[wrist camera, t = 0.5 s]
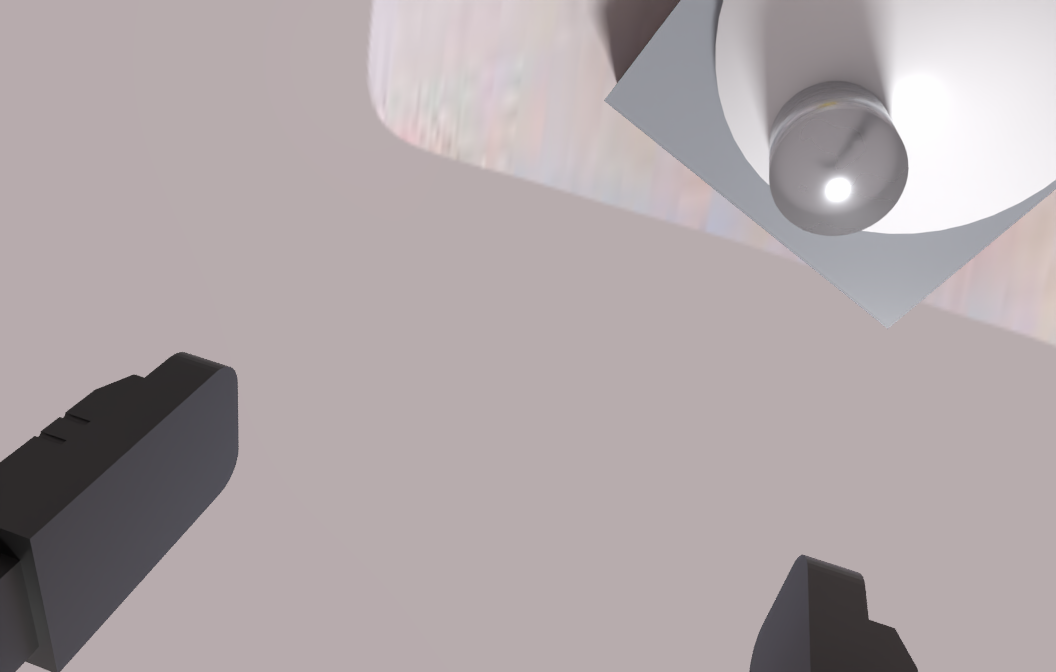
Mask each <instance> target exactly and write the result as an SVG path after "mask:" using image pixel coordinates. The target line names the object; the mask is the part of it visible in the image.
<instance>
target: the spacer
mask: <svg viewBox="0 0 1056 672" xmlns="http://www.w3.org/2000/svg"><path fill="white" fill-rule="evenodd" d="M908 169H909V168H908V156H907V152H906V149H905V146H904V143H903V141H902V139H901V137H900V135H899V134H898V132H897V130H896V128H895V126H894V124H893V122H892V120H891V118H890V116H889V114H888V112H887V110H886V108H885V106H884V105H883V103H882V102H881V101H880V99H879V98H878V97H877V96H876V95H875V94H873V93H872V92H871V91H869V90H868V89H866V88H864V87H862V86H860V85H857V84H854V83H851V82H846V81H827V82H822V83H818V84H815V85H812V86H810V87H807V88H805V89H803V90H802V91H800V92H798V93H797V94H796V95H794V96H793V97H792V98H791V99H789V100H788V101H787V102H786V103H785V105H784V106H783V107H782V108H781V110H780V111H779V113H778V114H777V116H776V118H775V120H774V122H773V125H772V128H771V132H770V138H769V184H770V191H771V194H772V197H773V200H774V202H775V204H776V206H777V208H778V209H779V211H780V212H781V213H782V214H783V216H784V217H785V218H786V219H787V220H789V221H790V222H791V223H792V224H794V225H795V226H797V227H799V228H800V229H802V230H804V231H807V232H810V233H813V234H817V235H824V236H841V235H848V234H852V233H856V232H859V231H861V230H864V229H866V228H868V227H870V226H872V225H873V224H875V223H877V222H878V221H880V220H881V219H882V218H883V217H884V216H886V215H887V214H888V213H889V212H890V211H891V210H892V208H893V207H894V206H895V204H896V203H897V202H898V200H899V198H900V197H901V195H902V193H903V190H904V188H905V185H906V182H907V178H908Z"/></svg>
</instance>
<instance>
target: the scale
mask: <svg viewBox="0 0 1056 672" xmlns="http://www.w3.org/2000/svg"><path fill="white" fill-rule="evenodd" d="M827 81H846V82H851V83H854V84H857V85H860V86H862V87H864V88H866V89H868V90H869V91H871V92H872V93H873V94H875V95H876V96H877V97H878V98H879V99H880V101H881V102H882V103H883V105H884V106H885V108H886V110H887V112H888V114H889V116H890V118H891V120H892V122H893V124H894V126H895V128H896V130H897V132H898V134H899V135H900V137H901V139H902V141H903V143H904V146H905V149H906V152H907V156H908V168H909V169H908V178H907V182H906V185H905V188H904V190H903V193H902V195H901V197H900V198H899V200H898V202H897V203H896V204H895V206H894V207H893V208H892V210H891V211H890V212H889V213H888V214H887V215H886V216H884V217H883V218H882V219H881V220H880V221H878V222H877V223H875V224H873V225H872V226H870V227H868V228H866V229H864V230H861V231H859V232H856V233H852V234H848V235H841V236H824V235H817V234H813V233H810V232H807V231H804V230H802V229H800V228H799V227H797V226H795V225H794V224H792V223H791V222H790V221H789V220H787V219H786V218H785V217H784V216H783V214H782V213H781V212H780V211H779V209H778V208H777V206H776V204H775V202H774V200H773V197H772V194H771V191H770V184H769V138H770V132H771V128H772V125H773V122H774V120H775V118H776V116H777V114H778V113H779V111H780V110H781V108H782V107H783V106H784V105H785V103H786V102H787V101H788V100H789V99H791V98H792V97H793V96H794V95H796V94H797V93H798V92H800V91H802V90H803V89H805V88H807V87H810V86H812V85H815V84H818V83H822V82H827ZM604 101H605V102H607V103H608V104H609V105H610V106H612V107H613V108H614V109H615V110H617V111H618V112H619V113H620V114H621V115H623V116H624V117H625V118H626V119H628V120H629V121H630V122H631V123H633V124H634V125H635V126H636V127H638V128H639V129H640V130H641V131H643V132H644V133H645V134H646V135H648V136H649V137H650V138H651V139H653V140H654V141H655V142H656V143H658V144H659V145H660V146H661V147H662V148H664V149H665V150H666V151H667V152H669V153H670V154H671V155H672V156H674V157H675V158H676V159H677V160H679V161H680V162H681V163H682V164H684V165H685V166H686V167H687V168H689V169H690V170H691V171H692V172H694V173H695V174H696V175H697V176H699V177H700V178H701V179H702V180H704V181H705V182H706V183H707V184H708V185H710V186H711V187H712V188H713V189H715V190H716V191H717V192H718V193H720V194H721V195H722V196H723V197H725V198H726V199H727V200H728V201H730V202H731V203H732V204H733V205H735V206H736V207H737V208H738V209H740V210H741V211H742V212H743V213H745V214H746V215H747V216H748V217H749V218H751V219H752V220H753V221H754V222H756V223H757V224H758V225H759V226H761V227H762V228H763V229H764V230H766V231H767V232H768V233H769V234H771V235H772V236H773V237H774V238H776V239H777V240H778V241H779V242H781V243H782V244H783V245H784V246H786V247H787V248H788V249H789V250H790V251H792V252H793V253H794V254H795V255H797V256H798V257H799V258H800V259H802V260H803V261H804V262H805V263H807V264H808V265H809V266H810V267H812V268H813V269H814V270H815V271H817V272H818V273H819V274H820V275H822V276H823V277H824V278H825V279H827V280H828V281H829V282H830V283H832V284H833V285H834V286H835V287H836V288H838V289H839V290H840V291H842V292H843V293H844V294H845V295H847V296H848V297H849V298H850V299H851V300H853V301H854V302H855V303H856V304H858V305H859V306H860V307H861V308H863V309H864V310H865V311H866V312H868V313H869V314H870V315H872V316H873V317H874V318H875V319H876V320H877V321H879V322H880V323H881V324H882V325H884V326H885V327H886V328H887V329H888V328H889V327H890V326H892V325H893V324H894V323H895V322H896V321H898V320H899V319H900V318H901V317H902V316H904V315H905V314H906V313H907V312H909V311H910V310H911V309H912V308H913V307H915V306H916V305H917V304H918V303H919V302H921V301H922V300H923V299H924V298H925V297H927V296H928V295H929V294H930V293H931V292H933V291H934V290H935V289H936V288H937V287H939V286H940V285H941V284H942V283H943V282H945V281H946V280H947V279H948V278H949V277H951V276H952V275H953V274H954V273H955V272H957V271H958V270H959V269H960V268H961V267H963V266H964V265H965V264H966V263H967V262H969V261H970V260H971V259H972V258H973V257H975V256H976V255H977V254H978V253H979V252H981V251H982V250H983V249H984V248H985V247H987V246H988V245H989V244H990V243H991V242H993V241H994V240H995V239H996V238H997V237H999V236H1000V235H1001V234H1002V233H1004V232H1005V231H1006V230H1007V229H1008V228H1010V227H1011V226H1012V225H1013V224H1014V223H1016V222H1017V221H1018V220H1019V219H1020V218H1022V217H1023V216H1024V215H1025V214H1026V213H1028V212H1029V211H1030V210H1031V209H1032V208H1034V207H1035V206H1036V205H1037V204H1038V203H1040V202H1041V201H1042V200H1043V199H1044V198H1046V197H1047V196H1048V195H1049V194H1050V193H1052V192H1053V191H1054V190H1055V189H1056V0H680V1H679V3H678V4H677V5H676V7H675V8H674V9H673V11H672V12H671V13H670V15H669V16H668V17H667V18H666V20H665V21H664V22H663V24H662V25H661V26H660V28H659V29H658V30H657V32H656V33H655V34H654V36H653V37H652V38H651V40H650V41H649V42H648V43H647V45H646V46H645V47H644V49H643V50H642V51H641V53H640V54H639V55H638V57H637V58H636V59H635V61H634V62H633V63H632V64H631V66H630V67H629V68H628V70H627V71H626V72H625V74H624V75H623V76H622V78H621V79H620V80H619V82H618V83H617V84H616V86H615V87H614V88H613V90H612V91H611V92H610V94H609V95H608V96H607V98H606V99H605V100H604Z"/></svg>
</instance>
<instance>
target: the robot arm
mask: <svg viewBox="0 0 1056 672" xmlns="http://www.w3.org/2000/svg"><path fill="white" fill-rule="evenodd" d="M237 384H238V382H237V375H236V373H235V370H234V369H233V368H231V367H228V366H225V365H222V364H219V363H216V362H213V361H210V360H207V359H204V358H200V357H197V356H194V355H191V354H188V353H185V352H180V353H176V354H174V355H173V356H171V357H170V358H169V359H167V360H166V361H165V362H164V363H162V364H161V365H160V366H159V367H157V368H156V369H155V370H154V371H152V372H151V373H150V374H149V375H148V376H146V377H145V378H143V377H140V376H137V375H131V376H129V377H127V378H124V379H121V380H119V381H117V382H114V383H111V384H109V385H106V386H104V387H101V388H99V389H96V390H94V391H93V392H92V393H90V394H89V395H88V396H87V397H85V398H84V399H83V400H81V401H80V402H79V403H77V404H76V405H75V406H73V407H72V408H71V409H69V410H68V411H67V412H66V414H65V416H64V418H61V417H59V418H58V419H57V420H55V421H54V422H53V423H51V424H50V425H49V426H48V427H46V428H45V429H43V430H42V431H41V434H40V436H39V437H36V436H34V437H33V438H32V439H30V440H29V441H28V442H26V443H25V444H24V445H22V446H21V447H20V448H18V449H17V450H16V451H15V452H13V453H12V454H11V455H9V456H8V457H7V458H6V459H4V460H3V461H2V462H0V672H15V671H16V670H17V669H18V668H19V667H20V666H21V665H22V664H23V663H24V662H25V661H26V662H28V663H31V664H33V665H36V666H39V667H41V668H44V669H46V670H49V671H51V672H60V671H61V670H62V669H63V668H64V667H65V665H66V664H67V663H68V662H69V661H70V660H71V659H72V657H74V655H75V654H76V653H77V652H78V651H79V650H80V649H81V648H82V647H83V645H84V644H85V643H86V642H87V641H88V640H89V639H90V638H91V637H92V635H93V634H94V633H95V632H96V631H97V630H98V629H99V628H100V627H101V625H102V624H103V623H104V622H105V621H106V620H107V619H108V618H109V616H110V615H111V614H112V613H113V612H114V611H115V610H116V609H117V608H118V606H119V605H120V604H121V603H122V602H123V601H124V600H125V599H126V598H127V596H128V595H129V594H130V593H131V592H132V591H133V590H134V589H135V588H136V586H137V585H138V584H139V583H140V582H141V581H142V580H143V579H144V578H145V576H146V575H147V574H148V573H149V572H150V571H151V570H152V568H153V567H154V566H155V565H156V564H157V563H158V562H159V560H161V559H162V557H163V556H164V555H165V554H166V553H167V552H168V551H169V550H170V548H171V547H172V546H173V545H174V544H175V543H176V542H177V541H178V540H179V538H180V537H181V536H182V535H183V534H184V533H185V532H186V531H187V530H188V528H189V527H190V526H191V525H192V524H193V523H194V522H195V520H196V519H197V518H198V517H199V516H200V515H201V514H202V513H203V512H204V511H205V509H206V508H207V507H208V506H209V505H210V504H211V503H212V502H213V501H214V499H215V498H216V497H217V496H218V495H219V494H220V493H221V491H222V490H223V489H224V487H225V486H226V484H227V482H228V481H229V479H230V477H231V475H232V473H233V470H234V468H235V465H236V461H237V457H238V389H237V388H238V385H237ZM750 672H918V670H917V667H916V666H915V664H914V662H913V660H912V658H911V656H910V655H909V653H908V651H907V649H906V648H905V646H904V644H903V642H902V641H901V639H900V637H899V635H898V633H897V632H896V630H895V628H892V627H889V626H886V625H883V624H880V623H877V622H874V621H871V620H869V619H868V610H867V600H866V591H865V583H864V579H863V576H862V575H861V574H860V573H858V572H855V571H852V570H849V569H846V568H842V567H839V566H836V565H833V564H830V563H827V562H824V561H821V560H817V559H815V558H811V557H809V556H805V555H801V556H799V557H798V558H797V560H796V561H795V563H794V565H793V567H792V568H791V570H790V572H789V575H788V576H787V578H786V580H785V582H784V584H783V586H782V588H781V590H780V592H779V594H778V596H777V598H776V600H775V602H774V604H773V606H772V608H771V610H770V612H769V613H768V615H767V618H766V619H765V621H764V623H763V625H762V627H761V630H760V632H759V634H758V637H757V641H756V643H755V646H754V650H753V654H752V659H751V665H750Z"/></svg>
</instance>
